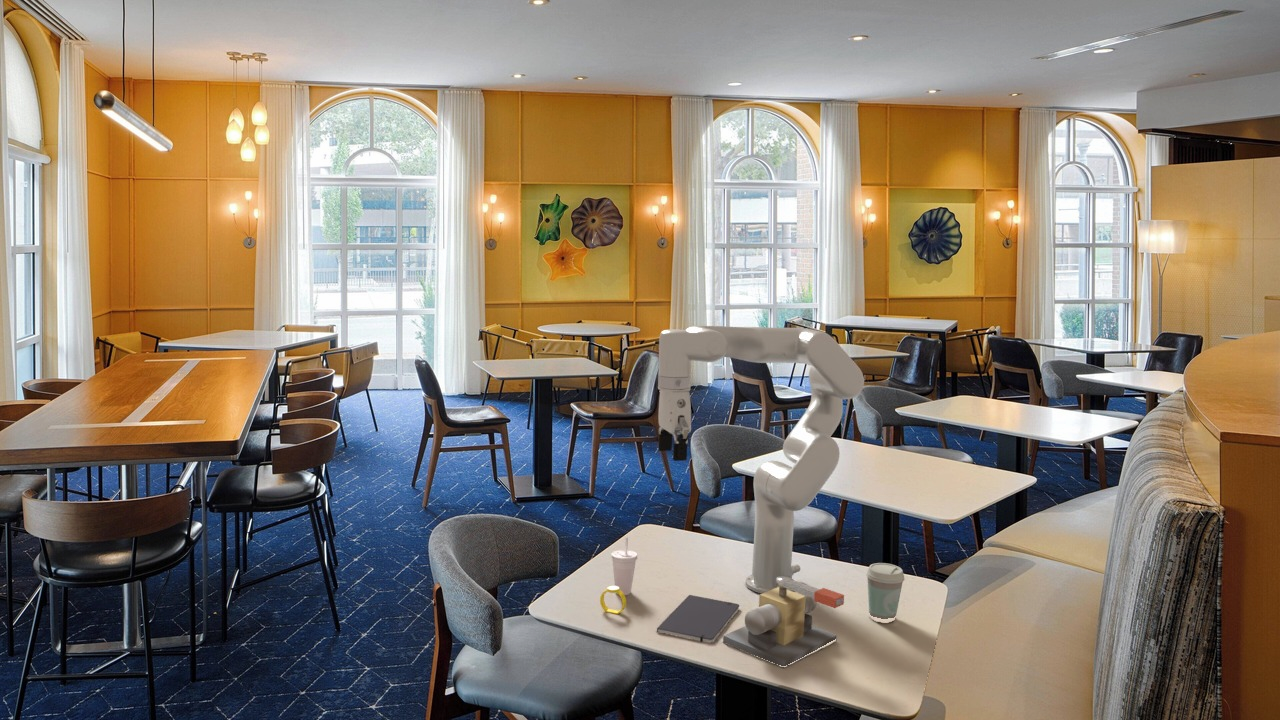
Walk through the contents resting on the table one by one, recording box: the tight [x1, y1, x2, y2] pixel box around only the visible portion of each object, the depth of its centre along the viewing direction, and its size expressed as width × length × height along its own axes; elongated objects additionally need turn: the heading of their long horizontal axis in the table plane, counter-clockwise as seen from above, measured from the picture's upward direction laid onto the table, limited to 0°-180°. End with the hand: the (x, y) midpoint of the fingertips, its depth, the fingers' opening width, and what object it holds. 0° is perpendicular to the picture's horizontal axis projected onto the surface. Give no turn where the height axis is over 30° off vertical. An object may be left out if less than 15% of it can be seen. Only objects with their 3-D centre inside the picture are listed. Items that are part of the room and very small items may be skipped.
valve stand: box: [722, 587, 837, 666], centre depth 200 cm, size 19×16×12 cm
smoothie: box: [610, 536, 638, 596], centre depth 225 cm, size 6×6×14 cm
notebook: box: [656, 594, 740, 644], centre depth 211 cm, size 13×2×21 cm
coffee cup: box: [865, 562, 906, 619], centre depth 215 cm, size 9×8×12 cm
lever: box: [776, 576, 845, 609], centre depth 195 cm, size 16×3×2 cm, turn 45°
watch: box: [599, 585, 627, 615], centre depth 213 cm, size 6×3×6 cm, turn 68°
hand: (672, 455), depth 218 cm, fingers open, 9 cm apart
